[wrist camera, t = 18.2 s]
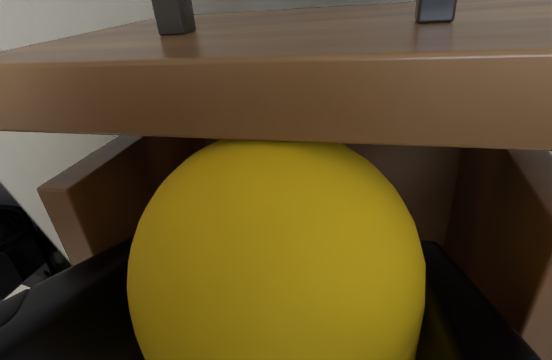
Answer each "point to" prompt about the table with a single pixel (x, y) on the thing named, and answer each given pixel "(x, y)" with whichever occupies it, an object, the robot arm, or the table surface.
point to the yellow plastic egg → (276, 258)
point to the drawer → (318, 119)
